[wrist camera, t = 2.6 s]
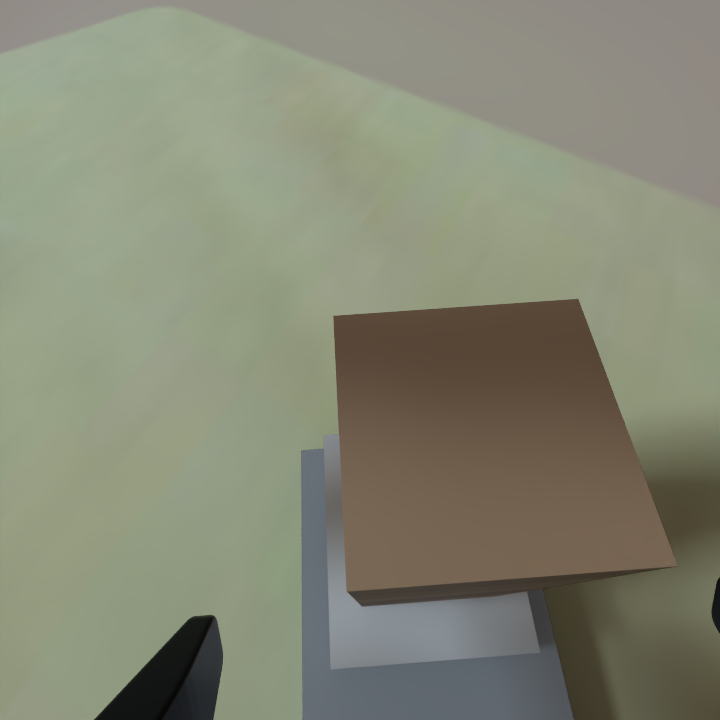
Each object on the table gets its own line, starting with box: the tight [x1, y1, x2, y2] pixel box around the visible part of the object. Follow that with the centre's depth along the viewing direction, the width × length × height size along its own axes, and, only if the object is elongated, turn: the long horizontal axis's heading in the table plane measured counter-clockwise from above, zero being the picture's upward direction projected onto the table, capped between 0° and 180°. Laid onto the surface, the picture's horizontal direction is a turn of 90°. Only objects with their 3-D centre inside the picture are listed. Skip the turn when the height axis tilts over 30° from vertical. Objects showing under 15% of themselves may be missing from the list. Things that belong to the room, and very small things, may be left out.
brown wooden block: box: [324, 299, 678, 669], centre depth 11 cm, size 7×6×11 cm
